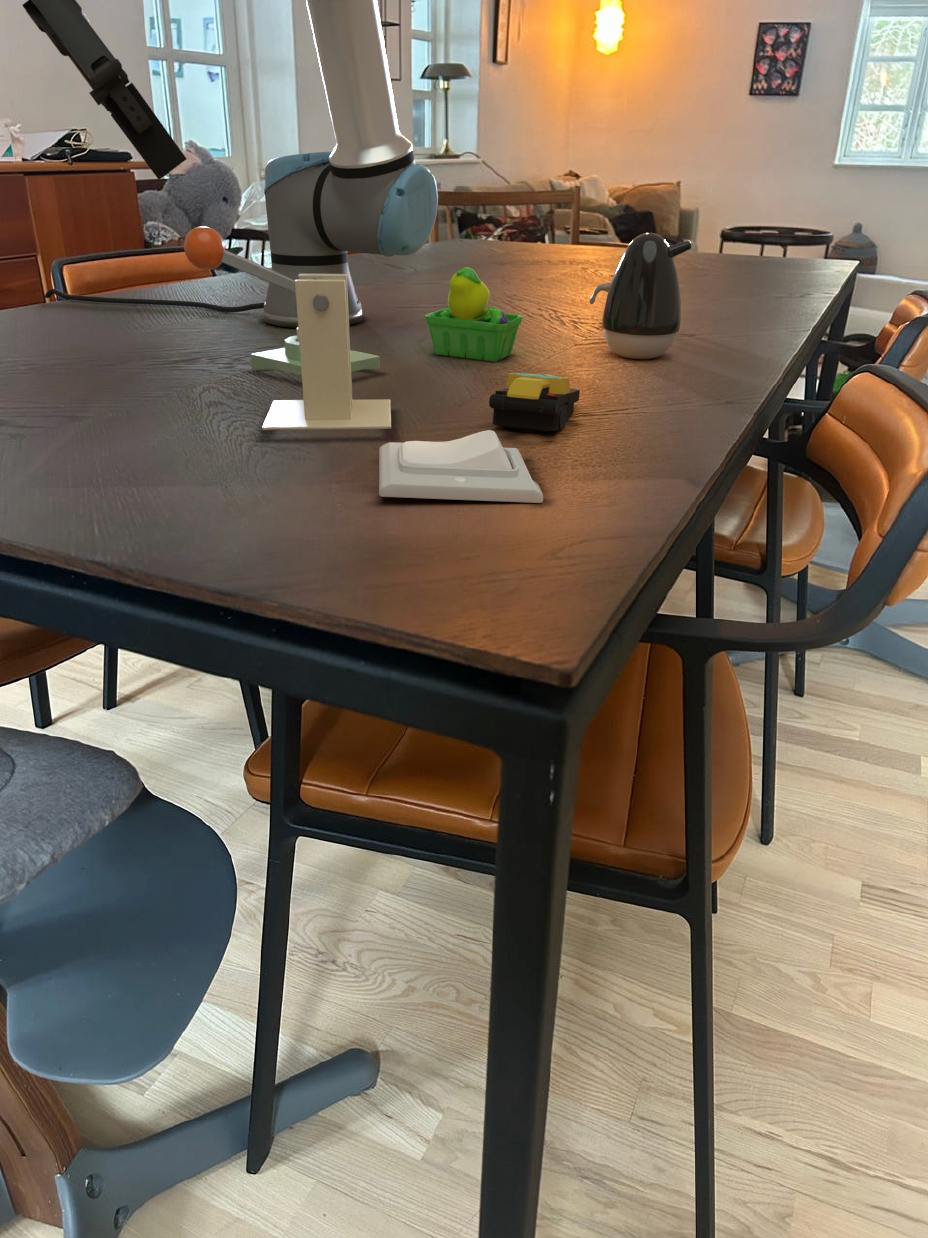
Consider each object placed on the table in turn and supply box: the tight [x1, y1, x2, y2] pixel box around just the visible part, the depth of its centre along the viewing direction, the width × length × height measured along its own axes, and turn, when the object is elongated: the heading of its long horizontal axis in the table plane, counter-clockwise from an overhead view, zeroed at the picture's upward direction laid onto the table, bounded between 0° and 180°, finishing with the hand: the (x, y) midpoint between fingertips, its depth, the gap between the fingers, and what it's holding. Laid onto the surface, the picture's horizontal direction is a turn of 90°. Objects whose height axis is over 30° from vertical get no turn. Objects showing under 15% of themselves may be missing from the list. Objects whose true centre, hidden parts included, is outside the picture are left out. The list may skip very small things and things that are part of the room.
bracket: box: [261, 274, 392, 431], centre depth 84 cm, size 12×10×14 cm
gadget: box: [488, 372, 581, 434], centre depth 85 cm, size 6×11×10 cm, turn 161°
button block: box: [250, 335, 381, 377], centre depth 106 cm, size 12×10×4 cm
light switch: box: [378, 429, 544, 504], centre depth 72 cm, size 11×4×13 cm
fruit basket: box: [424, 266, 524, 363], centre depth 114 cm, size 11×9×11 cm
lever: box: [183, 225, 318, 293], centre depth 80 cm, size 14×4×4 cm, turn 95°
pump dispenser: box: [601, 232, 693, 360], centre depth 115 cm, size 10×10×15 cm
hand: (172, 170), depth 80 cm, fingers open, 13 cm apart
